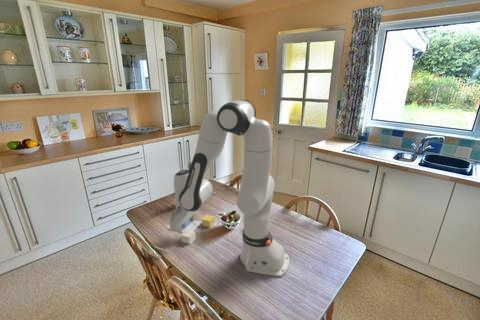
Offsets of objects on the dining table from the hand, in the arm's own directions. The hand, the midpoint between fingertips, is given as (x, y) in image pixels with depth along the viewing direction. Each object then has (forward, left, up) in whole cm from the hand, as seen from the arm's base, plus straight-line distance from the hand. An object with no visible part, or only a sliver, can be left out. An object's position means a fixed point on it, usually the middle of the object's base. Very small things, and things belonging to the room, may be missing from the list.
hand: (186, 226), depth 119 cm
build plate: (+9, -10, -9) cm, 16 cm away
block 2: (-1, 0, -9) cm, 9 cm away
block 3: (-3, -16, -9) cm, 18 cm away
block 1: (+9, -10, -8) cm, 16 cm away
